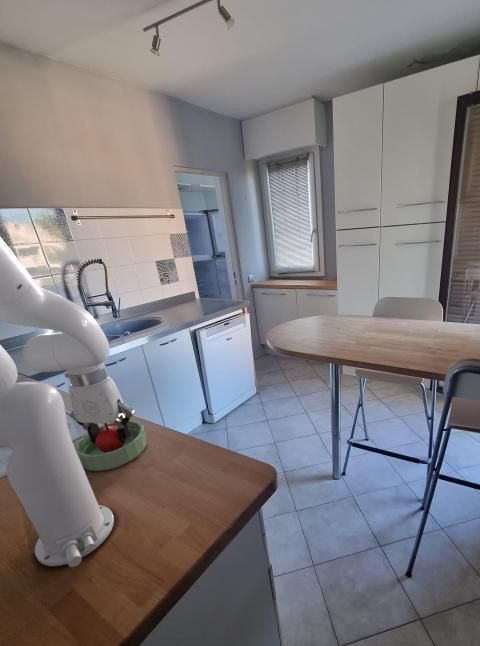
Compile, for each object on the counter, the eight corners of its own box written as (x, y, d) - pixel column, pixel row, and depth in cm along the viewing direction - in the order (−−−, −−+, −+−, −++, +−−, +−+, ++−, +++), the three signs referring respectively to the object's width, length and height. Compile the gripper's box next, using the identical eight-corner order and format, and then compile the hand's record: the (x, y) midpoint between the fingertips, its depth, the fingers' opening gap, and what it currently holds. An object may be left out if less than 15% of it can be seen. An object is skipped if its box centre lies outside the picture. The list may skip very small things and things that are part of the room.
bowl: (156, 451, 85) (151, 435, 83) (90, 482, 76) (83, 465, 74) (136, 428, 96) (131, 414, 94) (76, 454, 86) (69, 438, 84)
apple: (133, 449, 85) (124, 422, 82) (104, 462, 81) (93, 434, 78) (124, 439, 90) (116, 412, 87) (97, 450, 86) (86, 423, 82)
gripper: (41, 384, 74) (68, 450, 81) (116, 381, 73) (137, 447, 80) (64, 370, 81) (87, 432, 88) (133, 367, 80) (151, 430, 87)
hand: (111, 439), depth 84 cm, fingers closed on apple, 6 cm apart
